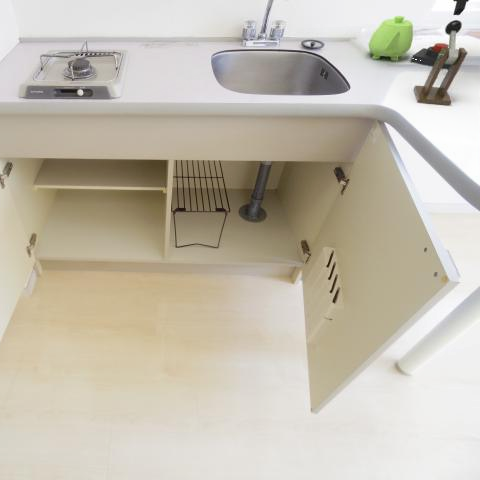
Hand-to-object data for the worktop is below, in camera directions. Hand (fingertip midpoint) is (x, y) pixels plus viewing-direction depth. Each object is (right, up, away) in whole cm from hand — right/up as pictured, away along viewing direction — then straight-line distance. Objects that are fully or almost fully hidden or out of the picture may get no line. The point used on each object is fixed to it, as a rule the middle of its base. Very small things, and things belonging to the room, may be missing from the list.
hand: (458, 11), depth 96 cm
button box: (+14, -1, +26) cm, 29 cm away
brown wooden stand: (-3, -21, +6) cm, 22 cm away
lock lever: (-2, -9, +1) cm, 9 cm away
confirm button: (+13, +2, +23) cm, 27 cm away
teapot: (0, +5, +32) cm, 32 cm away
